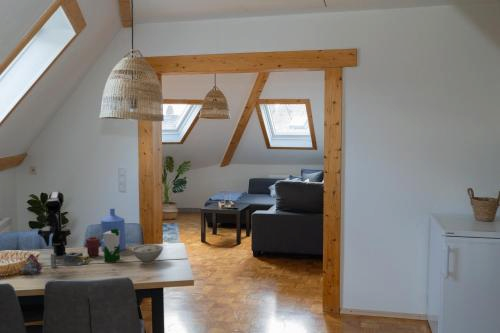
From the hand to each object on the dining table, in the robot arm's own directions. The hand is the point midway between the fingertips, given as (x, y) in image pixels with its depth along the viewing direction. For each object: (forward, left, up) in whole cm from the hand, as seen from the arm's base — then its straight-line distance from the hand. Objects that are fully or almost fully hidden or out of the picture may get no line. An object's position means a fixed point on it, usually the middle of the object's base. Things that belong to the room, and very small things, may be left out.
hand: (54, 246), depth 291 cm
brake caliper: (-5, -15, -13) cm, 20 cm away
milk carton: (+26, +20, -13) cm, 35 cm away
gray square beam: (-1, -1, -12) cm, 12 cm away
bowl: (+50, +21, -13) cm, 56 cm away
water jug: (+12, +45, -13) cm, 48 cm away
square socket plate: (+4, +11, -12) cm, 17 cm away
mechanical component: (+8, +27, -13) cm, 31 cm away
